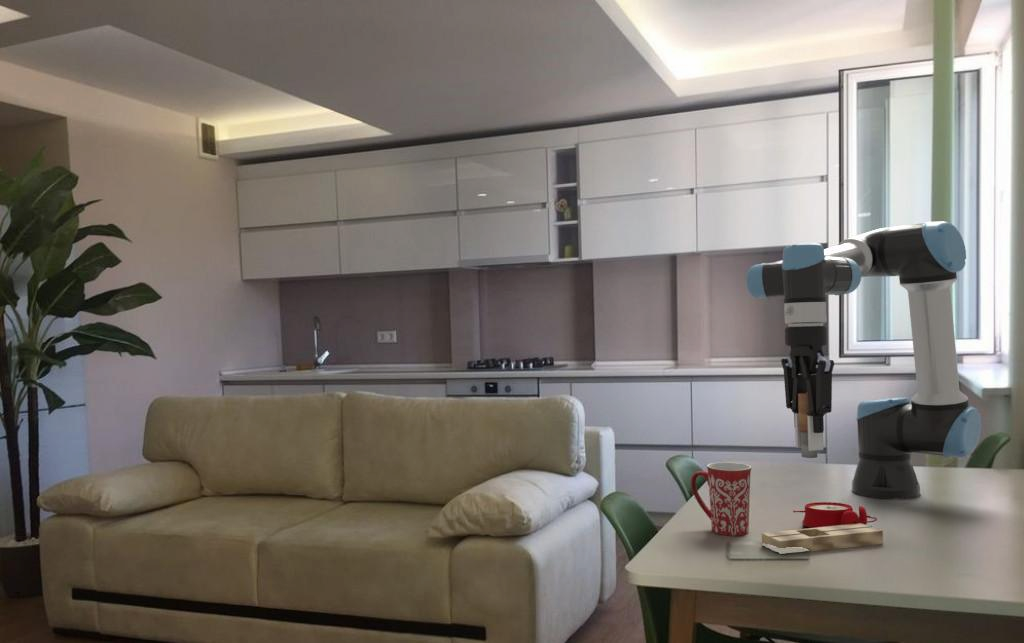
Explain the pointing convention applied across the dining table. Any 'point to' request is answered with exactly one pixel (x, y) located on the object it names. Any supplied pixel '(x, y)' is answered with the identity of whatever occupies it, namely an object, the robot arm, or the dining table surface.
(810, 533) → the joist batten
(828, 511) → the alarm clock
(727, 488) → the mug
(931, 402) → the robot arm
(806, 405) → the wooden tool handle
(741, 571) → the dining table surface
